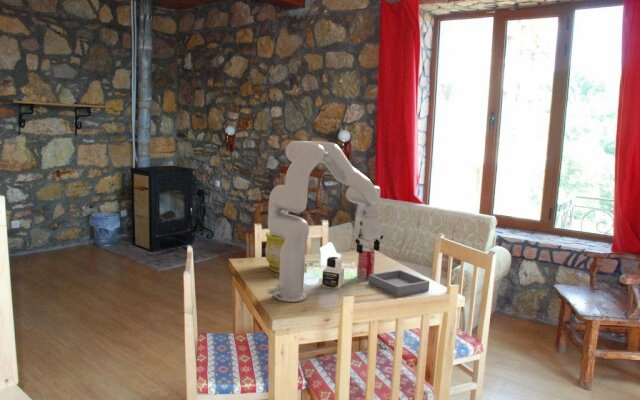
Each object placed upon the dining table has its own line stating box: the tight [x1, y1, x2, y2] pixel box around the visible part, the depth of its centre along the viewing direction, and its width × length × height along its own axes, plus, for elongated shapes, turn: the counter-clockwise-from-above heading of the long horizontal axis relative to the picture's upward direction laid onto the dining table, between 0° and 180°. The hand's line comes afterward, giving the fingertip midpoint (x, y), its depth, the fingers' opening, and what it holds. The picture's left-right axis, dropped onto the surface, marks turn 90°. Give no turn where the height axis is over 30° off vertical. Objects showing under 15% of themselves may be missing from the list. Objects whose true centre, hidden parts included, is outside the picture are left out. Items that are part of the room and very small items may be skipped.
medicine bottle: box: [321, 256, 345, 290], centre depth 214 cm, size 7×7×12 cm
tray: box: [367, 269, 430, 298], centre depth 218 cm, size 18×18×4 cm
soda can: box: [356, 247, 376, 281], centre depth 227 cm, size 7×7×13 cm
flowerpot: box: [264, 230, 285, 274], centre depth 232 cm, size 18×18×16 cm
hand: (367, 251), depth 227 cm, fingers open, 9 cm apart
